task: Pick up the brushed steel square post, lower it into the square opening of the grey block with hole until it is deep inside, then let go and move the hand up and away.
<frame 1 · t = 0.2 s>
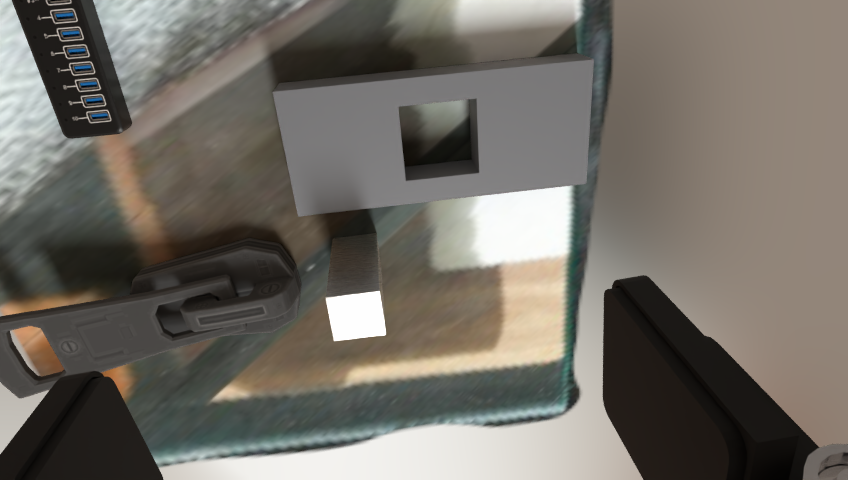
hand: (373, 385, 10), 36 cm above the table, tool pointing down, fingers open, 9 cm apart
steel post: (357, 254, 50), on the table
multiport hub: (75, 32, 40), on the table
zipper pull: (166, 295, 50), on the table
grey block with hole: (434, 129, 45), on the table
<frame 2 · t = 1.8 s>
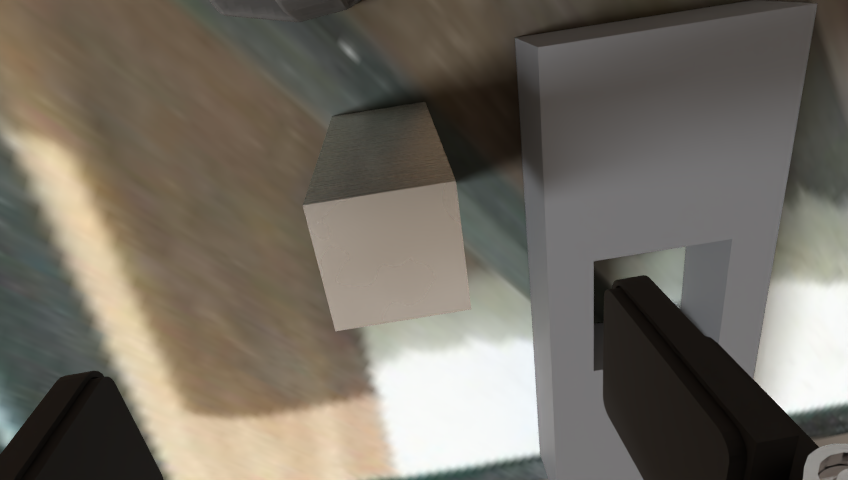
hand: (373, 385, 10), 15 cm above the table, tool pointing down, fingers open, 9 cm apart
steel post: (386, 154, 24), on the table
grey block with hole: (626, 270, 27), on the table
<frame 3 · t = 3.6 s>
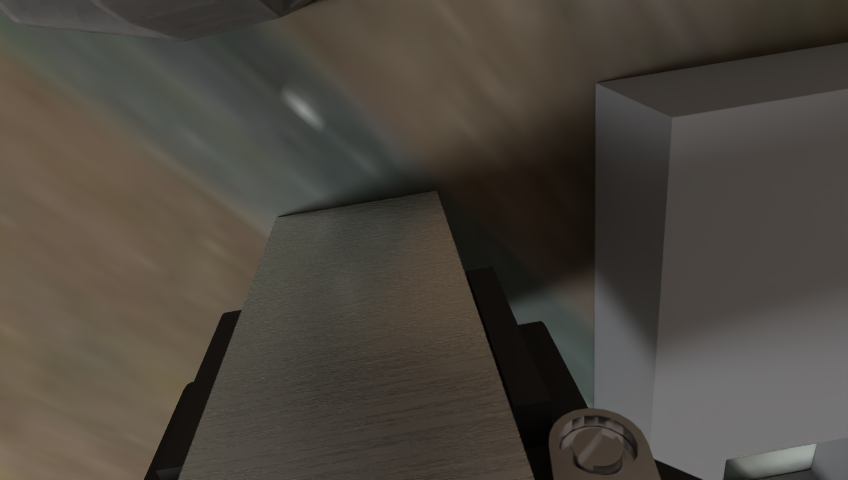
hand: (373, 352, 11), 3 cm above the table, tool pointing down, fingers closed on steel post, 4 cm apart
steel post: (371, 273, 14), on the table, touching gripper
grey block with hole: (740, 423, 18), on the table
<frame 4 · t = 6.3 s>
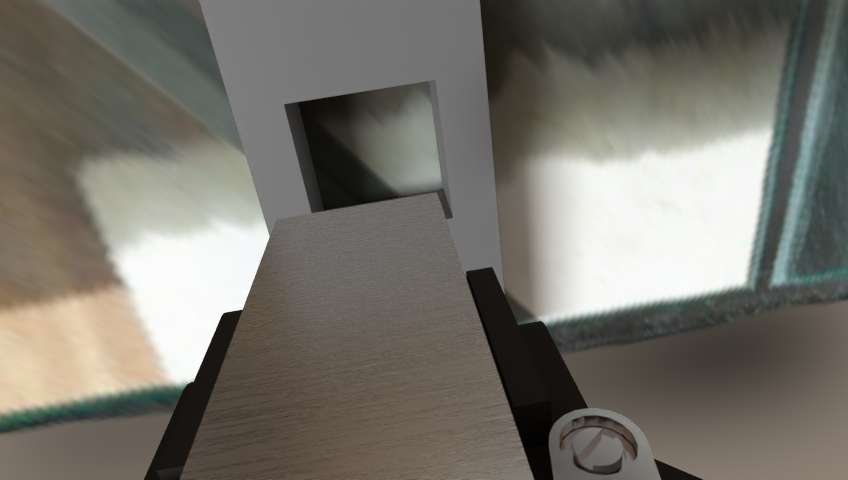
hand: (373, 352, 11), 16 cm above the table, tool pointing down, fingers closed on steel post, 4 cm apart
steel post: (371, 275, 14), point 13 cm above the table, touching gripper
grey block with hole: (373, 141, 25), on the table
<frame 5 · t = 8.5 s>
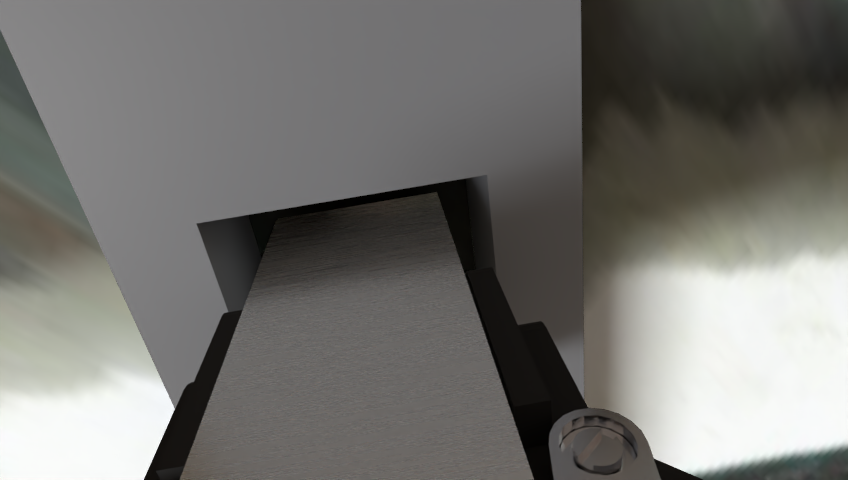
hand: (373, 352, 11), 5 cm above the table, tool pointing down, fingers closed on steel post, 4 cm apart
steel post: (371, 274, 14), point 1 cm above the table, touching gripper
grey block with hole: (368, 250, 15), on the table
when the fingers open (5 cm above the table, at t = 8.9 s): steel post drops 1 cm, resting in grey block with hole.
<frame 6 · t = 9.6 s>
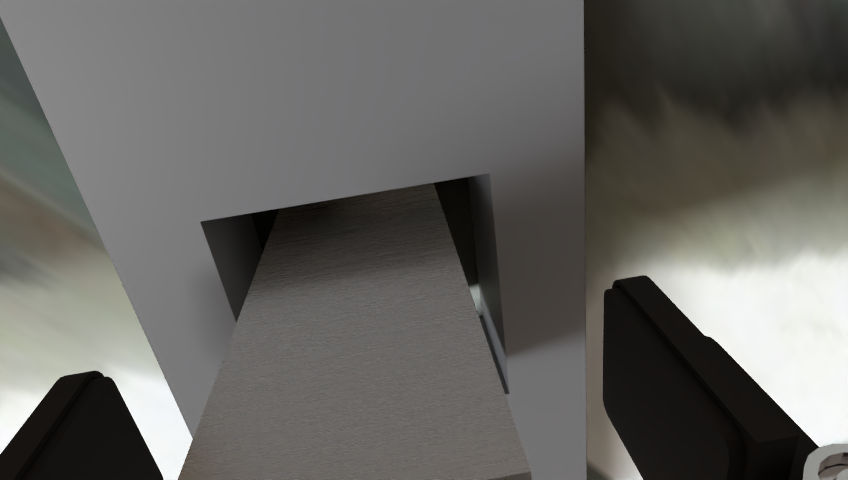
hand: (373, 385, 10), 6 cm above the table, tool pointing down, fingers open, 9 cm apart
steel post: (370, 248, 15), resting in grey block with hole
grey block with hole: (370, 249, 15), on the table
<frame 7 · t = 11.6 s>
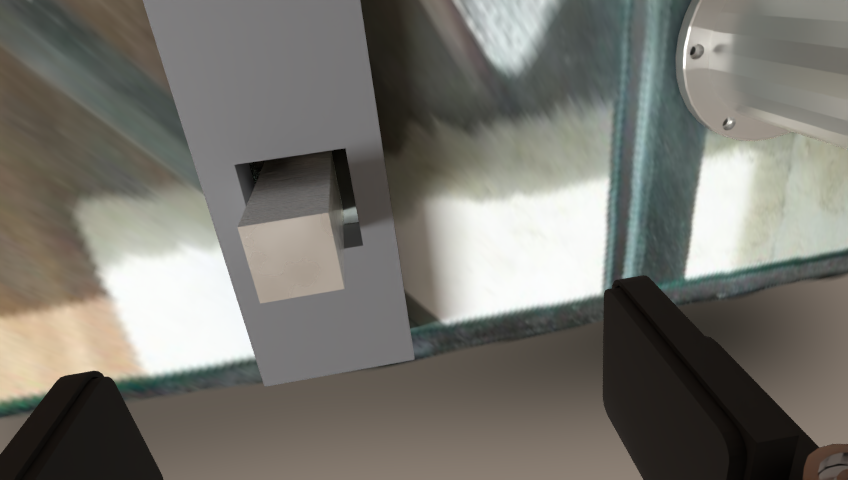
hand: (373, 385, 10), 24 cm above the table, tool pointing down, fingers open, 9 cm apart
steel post: (305, 185, 34), resting in grey block with hole
grey block with hole: (305, 186, 34), on the table
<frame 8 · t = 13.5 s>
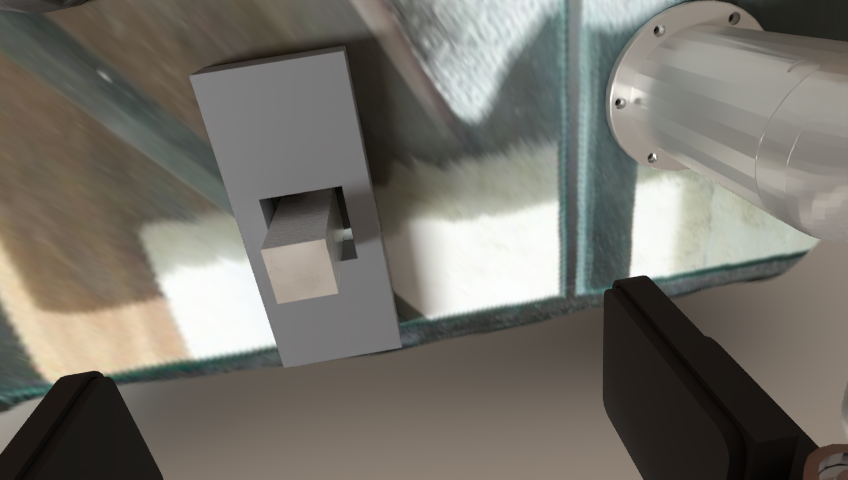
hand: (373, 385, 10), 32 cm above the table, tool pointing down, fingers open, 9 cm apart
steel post: (314, 211, 43), resting in grey block with hole
grey block with hole: (314, 211, 43), on the table
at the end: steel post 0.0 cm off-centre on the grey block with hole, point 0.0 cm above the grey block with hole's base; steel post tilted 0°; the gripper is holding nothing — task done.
